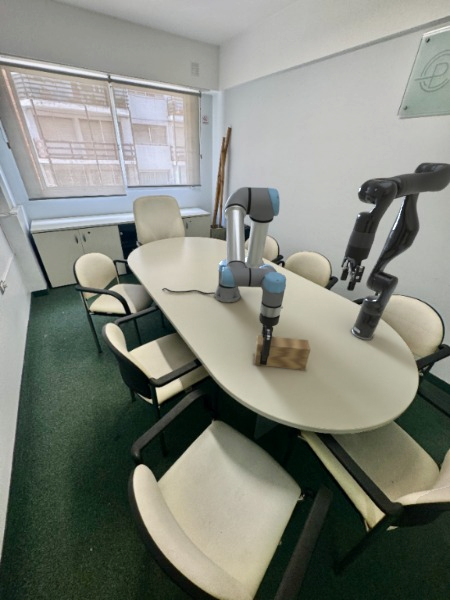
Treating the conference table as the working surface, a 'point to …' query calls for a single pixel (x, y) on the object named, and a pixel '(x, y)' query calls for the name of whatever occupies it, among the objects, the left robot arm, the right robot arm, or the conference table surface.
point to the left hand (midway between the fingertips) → (262, 357)
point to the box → (284, 352)
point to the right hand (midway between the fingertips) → (346, 285)
